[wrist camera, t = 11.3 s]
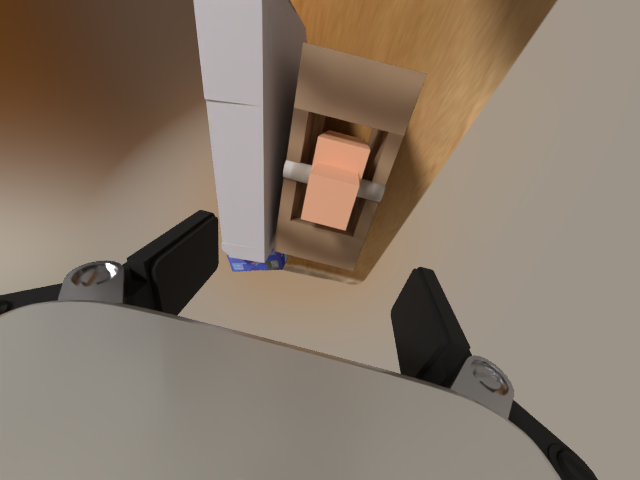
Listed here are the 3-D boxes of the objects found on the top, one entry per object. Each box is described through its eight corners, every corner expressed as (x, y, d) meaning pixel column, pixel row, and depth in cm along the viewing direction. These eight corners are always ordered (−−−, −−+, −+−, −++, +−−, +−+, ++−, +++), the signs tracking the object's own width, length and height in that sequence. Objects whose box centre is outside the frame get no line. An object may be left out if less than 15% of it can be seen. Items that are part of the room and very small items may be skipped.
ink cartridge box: (294, 214, 48) (272, 251, 35) (298, 238, 50) (280, 280, 38) (249, 218, 50) (214, 254, 37) (256, 241, 52) (225, 282, 40)
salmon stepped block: (328, 130, 31) (309, 141, 17) (364, 139, 31) (375, 158, 17) (315, 189, 36) (290, 239, 21) (347, 197, 36) (344, 253, 21)
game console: (269, 203, 47) (221, 256, 30) (269, 29, 34) (182, -58, 17) (297, 207, 47) (264, 263, 30) (308, 33, 34) (261, -50, 16)
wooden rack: (325, 72, 35) (301, 39, 19) (394, 90, 35) (429, 72, 19) (300, 204, 46) (271, 253, 30) (353, 217, 46) (353, 275, 30)
